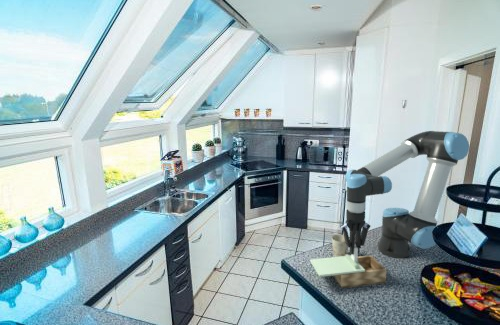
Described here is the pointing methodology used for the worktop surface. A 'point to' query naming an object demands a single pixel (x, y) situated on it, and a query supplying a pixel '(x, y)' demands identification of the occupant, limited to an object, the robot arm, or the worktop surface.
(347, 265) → the lid
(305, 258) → the worktop surface
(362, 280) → the lid box
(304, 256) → the worktop surface
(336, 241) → the mug
